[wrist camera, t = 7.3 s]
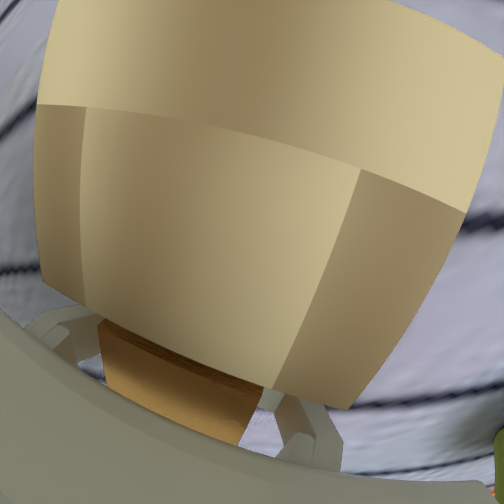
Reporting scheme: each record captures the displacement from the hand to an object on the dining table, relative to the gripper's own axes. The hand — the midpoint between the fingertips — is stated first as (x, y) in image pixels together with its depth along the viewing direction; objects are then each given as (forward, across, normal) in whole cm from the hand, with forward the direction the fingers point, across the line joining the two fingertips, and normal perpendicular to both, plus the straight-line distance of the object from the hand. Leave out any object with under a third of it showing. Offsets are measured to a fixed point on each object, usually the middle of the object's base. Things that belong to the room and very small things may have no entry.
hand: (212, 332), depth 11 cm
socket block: (+3, 0, +6) cm, 7 cm away
